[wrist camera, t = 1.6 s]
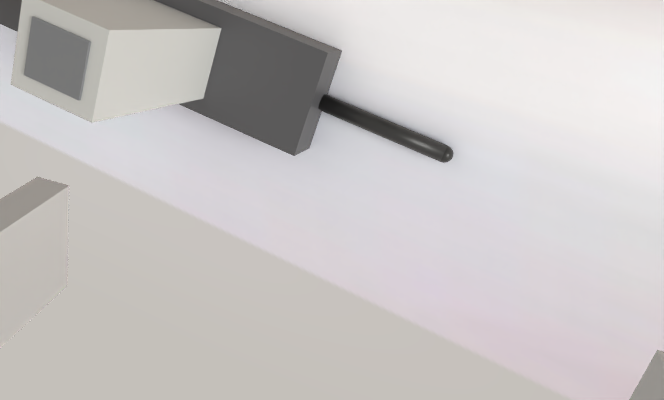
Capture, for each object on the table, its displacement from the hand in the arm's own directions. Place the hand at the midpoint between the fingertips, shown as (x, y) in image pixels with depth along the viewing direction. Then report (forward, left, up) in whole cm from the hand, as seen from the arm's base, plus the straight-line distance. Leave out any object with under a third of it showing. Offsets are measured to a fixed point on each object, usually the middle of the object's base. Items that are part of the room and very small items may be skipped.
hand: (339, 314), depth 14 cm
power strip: (-5, -16, -24) cm, 29 cm away
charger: (-6, -17, -23) cm, 29 cm away
